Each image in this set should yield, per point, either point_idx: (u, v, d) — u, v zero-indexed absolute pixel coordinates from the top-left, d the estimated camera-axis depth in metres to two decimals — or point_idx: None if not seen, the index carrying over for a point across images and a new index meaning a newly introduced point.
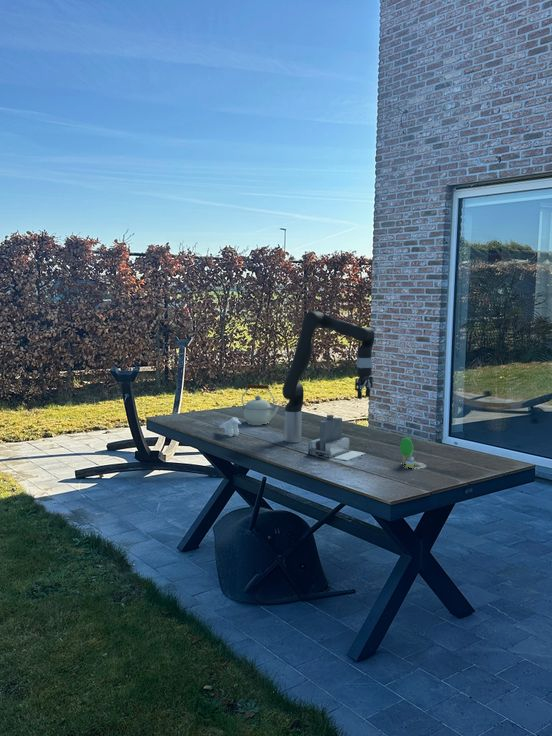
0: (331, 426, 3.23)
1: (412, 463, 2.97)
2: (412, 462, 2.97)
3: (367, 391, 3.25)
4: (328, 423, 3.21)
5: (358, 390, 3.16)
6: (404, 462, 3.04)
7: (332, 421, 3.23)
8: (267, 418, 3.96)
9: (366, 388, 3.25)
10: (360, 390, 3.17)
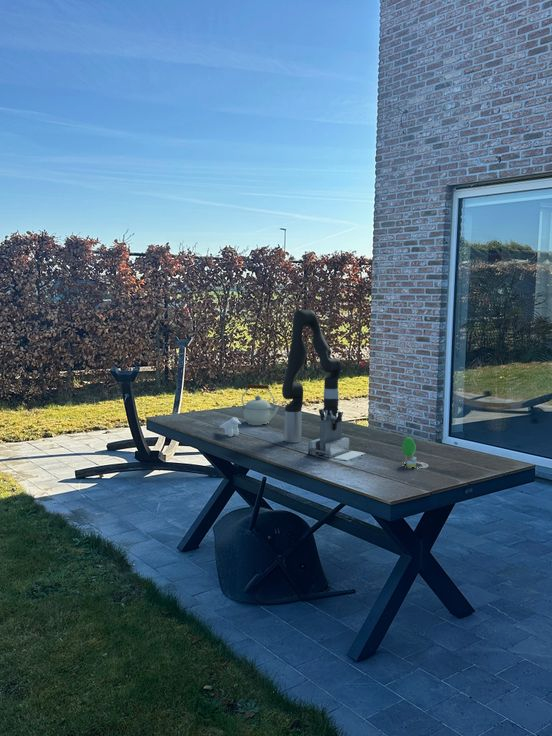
0: (331, 426, 3.23)
1: (414, 463, 2.97)
2: (414, 462, 2.97)
3: None
4: (328, 423, 3.21)
5: (339, 421, 3.22)
6: (406, 462, 3.05)
7: (332, 421, 3.23)
8: (267, 418, 3.96)
9: None
10: None
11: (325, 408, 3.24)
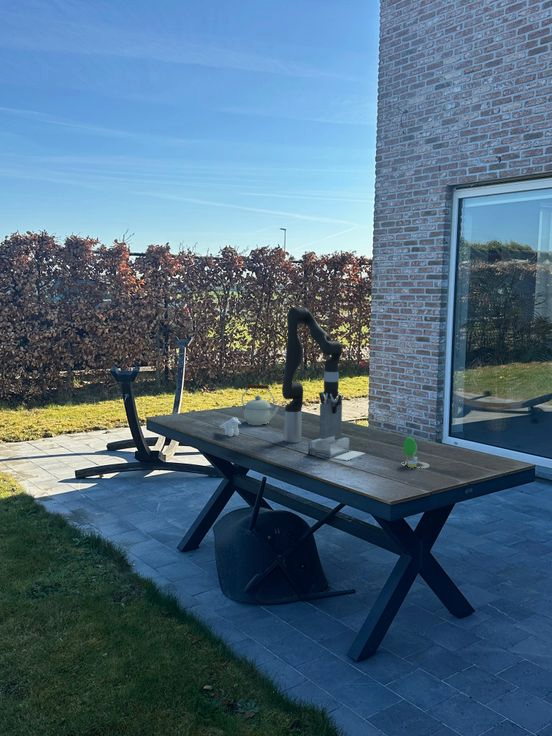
0: (331, 409, 3.22)
1: (414, 463, 2.97)
2: (414, 462, 2.97)
3: None
4: (328, 406, 3.20)
5: None
6: (407, 462, 3.05)
7: (332, 404, 3.23)
8: (267, 418, 3.96)
9: None
10: None
11: (325, 391, 3.23)
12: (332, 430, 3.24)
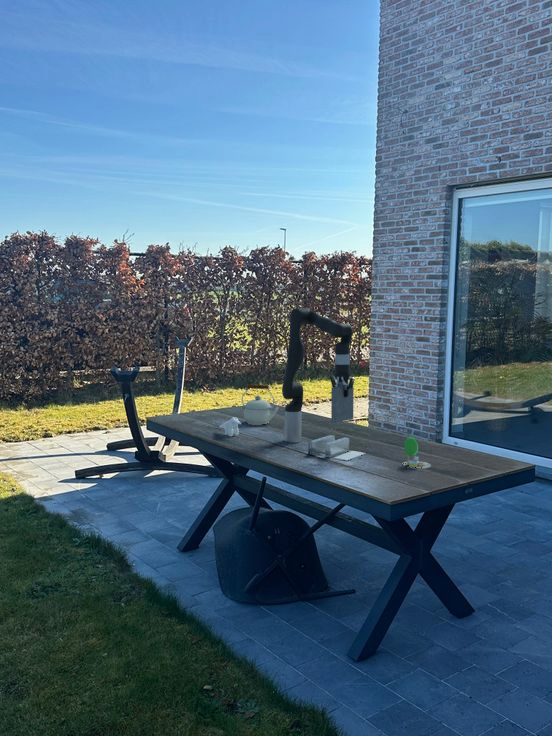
0: (342, 392, 3.17)
1: (415, 463, 2.98)
2: (415, 462, 2.98)
3: None
4: (340, 389, 3.15)
5: (351, 388, 3.15)
6: (408, 461, 3.05)
7: (343, 388, 3.17)
8: (267, 418, 3.96)
9: None
10: None
11: (336, 375, 3.18)
12: (344, 414, 3.19)
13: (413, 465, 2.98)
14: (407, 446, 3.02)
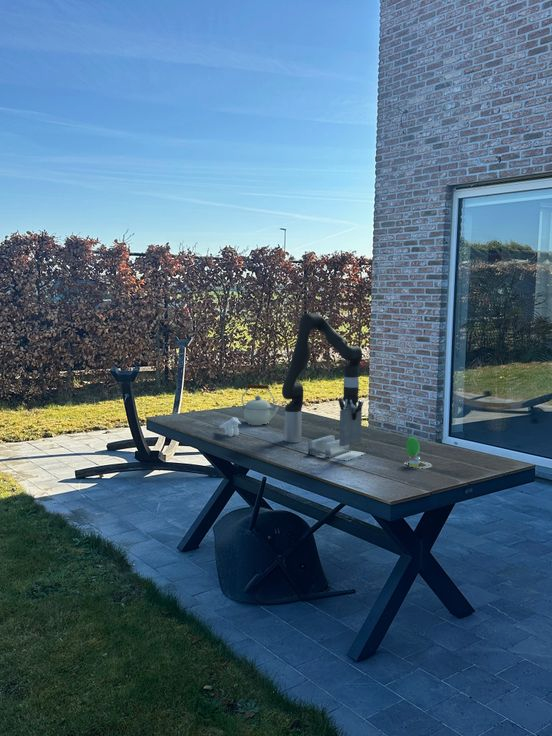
0: (351, 415, 3.15)
1: (416, 462, 2.98)
2: (416, 461, 2.98)
3: None
4: (348, 412, 3.13)
5: None
6: (410, 461, 3.06)
7: (352, 410, 3.15)
8: (267, 418, 3.96)
9: None
10: None
11: (345, 397, 3.16)
12: (352, 437, 3.17)
13: (414, 465, 2.98)
14: (408, 446, 3.02)
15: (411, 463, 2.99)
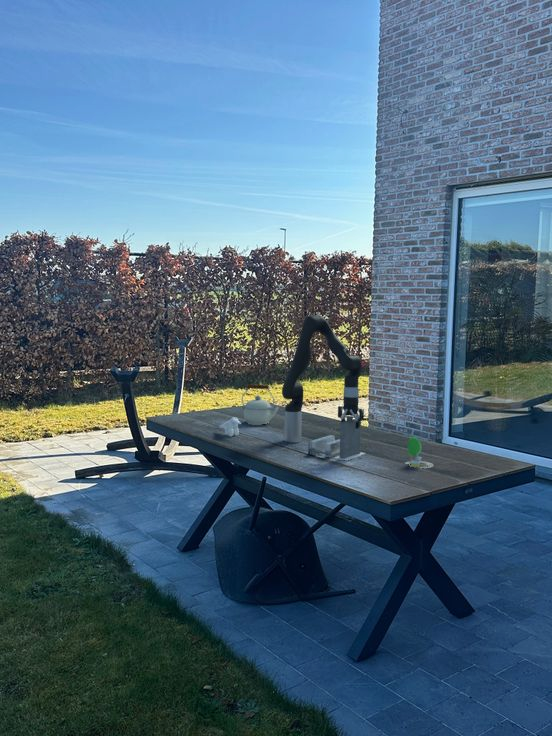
0: (351, 427, 3.16)
1: (417, 462, 2.98)
2: (417, 461, 2.98)
3: (344, 421, 3.19)
4: (348, 425, 3.14)
5: (363, 419, 3.13)
6: None
7: (352, 423, 3.16)
8: (267, 418, 3.96)
9: (343, 418, 3.19)
10: None
11: (345, 407, 3.17)
12: (352, 449, 3.18)
13: (415, 465, 2.99)
14: (410, 446, 3.03)
15: (412, 463, 2.99)
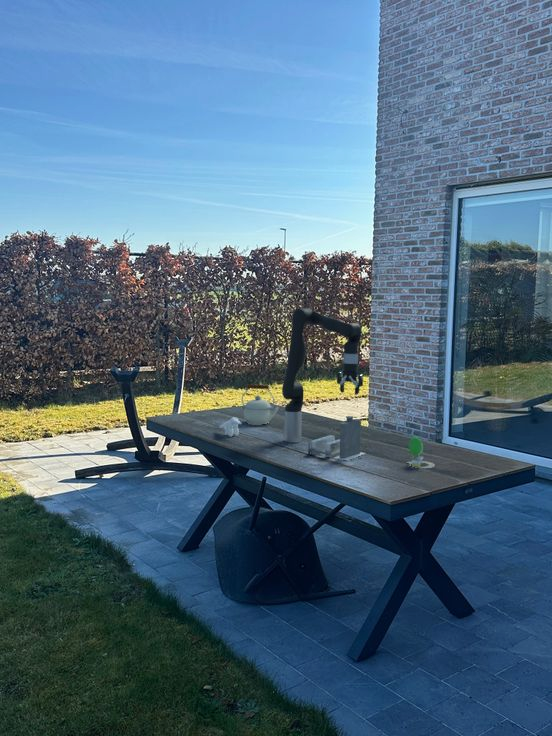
0: (351, 427, 3.16)
1: (418, 462, 2.98)
2: (418, 461, 2.98)
3: (343, 387, 3.26)
4: (348, 425, 3.14)
5: (362, 385, 3.19)
6: None
7: (352, 423, 3.16)
8: (267, 418, 3.96)
9: (342, 384, 3.25)
10: (359, 385, 3.20)
11: (344, 374, 3.23)
12: (352, 449, 3.18)
13: (416, 465, 2.99)
14: (411, 446, 3.03)
15: (413, 463, 2.99)
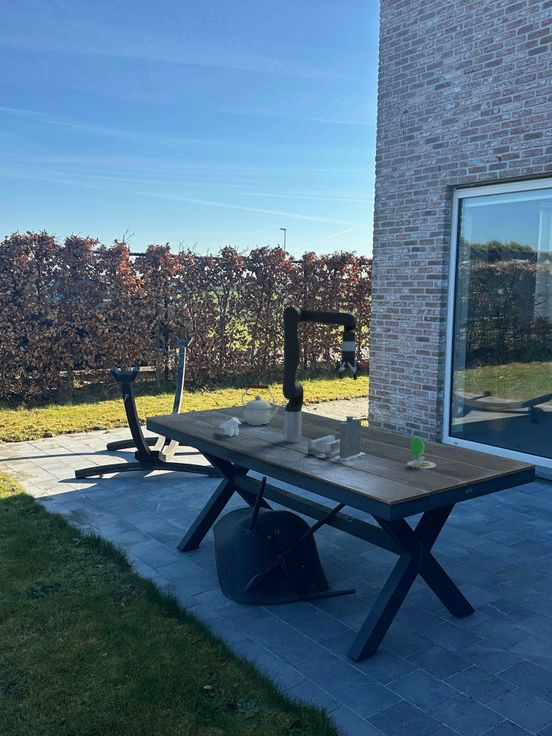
0: (351, 427, 3.16)
1: (419, 462, 2.98)
2: (419, 461, 2.98)
3: (341, 373, 3.43)
4: (348, 425, 3.14)
5: (360, 371, 3.37)
6: None
7: (352, 423, 3.16)
8: (267, 418, 3.96)
9: (341, 371, 3.42)
10: (357, 371, 3.38)
11: (343, 361, 3.41)
12: (352, 449, 3.18)
13: (417, 465, 2.99)
14: (412, 445, 3.03)
15: (414, 463, 3.00)
